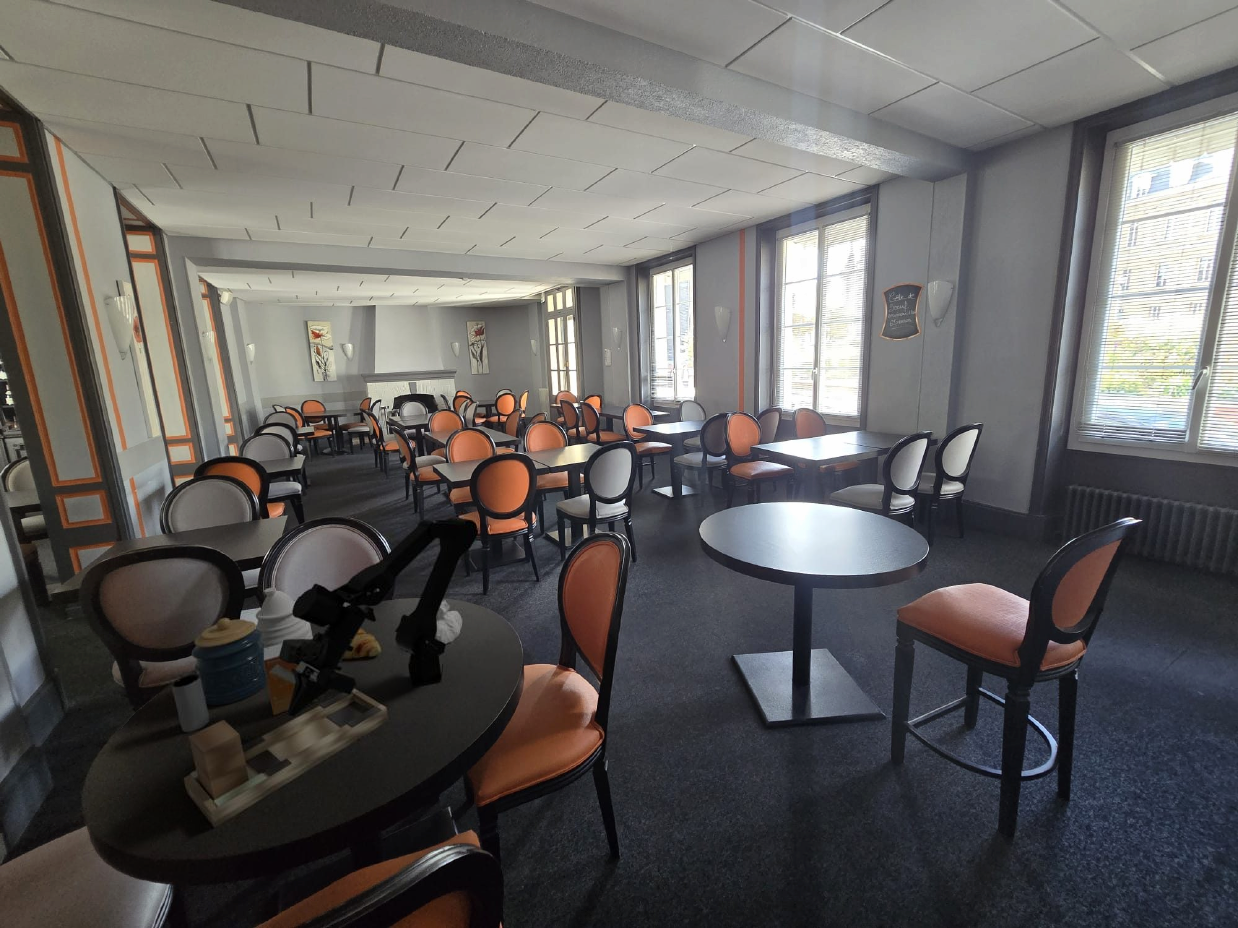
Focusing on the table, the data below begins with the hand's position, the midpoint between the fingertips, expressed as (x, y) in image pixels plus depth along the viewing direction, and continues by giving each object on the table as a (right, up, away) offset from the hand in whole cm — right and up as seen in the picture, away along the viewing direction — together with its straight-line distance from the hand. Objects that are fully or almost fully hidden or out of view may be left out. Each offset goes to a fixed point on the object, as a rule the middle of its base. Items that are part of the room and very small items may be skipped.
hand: (290, 715), depth 98 cm
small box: (-10, -6, +18) cm, 21 cm away
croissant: (-9, -2, +38) cm, 39 cm away
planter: (-27, -8, +11) cm, 30 cm away
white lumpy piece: (+15, 0, +42) cm, 45 cm away
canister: (-27, -5, +24) cm, 36 cm away
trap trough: (0, -8, +1) cm, 8 cm away
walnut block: (-6, -9, -8) cm, 13 cm away
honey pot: (-26, -2, +40) cm, 48 cm away
